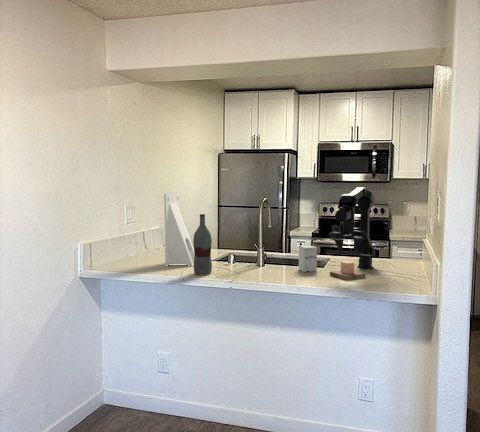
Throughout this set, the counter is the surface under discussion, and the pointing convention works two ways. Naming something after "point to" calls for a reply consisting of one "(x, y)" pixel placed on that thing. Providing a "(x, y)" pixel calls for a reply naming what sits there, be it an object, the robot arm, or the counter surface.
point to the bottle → (202, 248)
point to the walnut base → (347, 275)
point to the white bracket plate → (176, 233)
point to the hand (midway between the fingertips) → (347, 252)
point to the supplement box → (308, 258)
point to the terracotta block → (347, 267)
